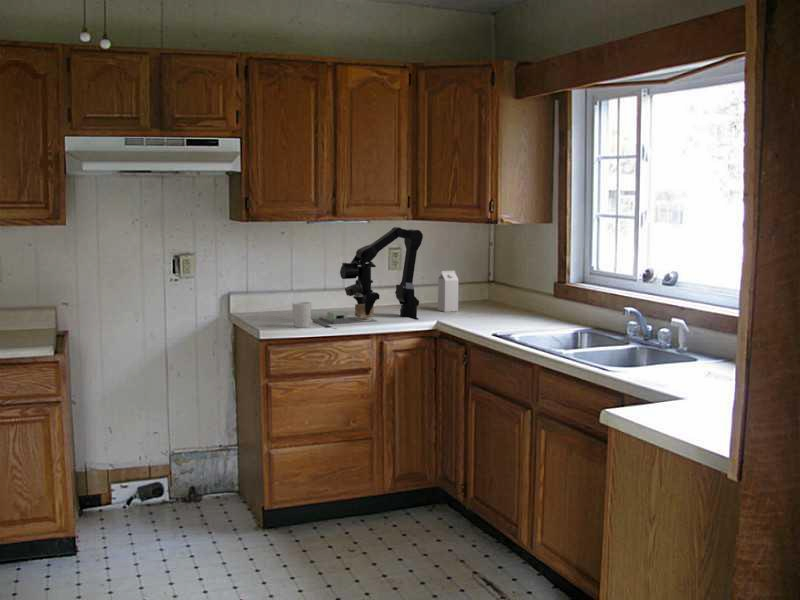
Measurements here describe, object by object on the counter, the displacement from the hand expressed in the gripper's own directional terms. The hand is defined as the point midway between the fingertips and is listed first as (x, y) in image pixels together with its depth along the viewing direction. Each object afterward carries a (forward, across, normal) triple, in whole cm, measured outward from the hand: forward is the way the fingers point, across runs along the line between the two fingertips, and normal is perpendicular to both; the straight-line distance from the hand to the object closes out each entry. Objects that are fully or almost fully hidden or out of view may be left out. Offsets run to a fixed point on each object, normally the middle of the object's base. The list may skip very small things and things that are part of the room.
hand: (364, 313), depth 383 cm
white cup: (+4, -1, -28) cm, 28 cm away
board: (+4, -2, -8) cm, 9 cm away
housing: (+2, +1, -13) cm, 13 cm away
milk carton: (+4, -16, +50) cm, 53 cm away
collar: (+1, 0, 0) cm, 1 cm away
